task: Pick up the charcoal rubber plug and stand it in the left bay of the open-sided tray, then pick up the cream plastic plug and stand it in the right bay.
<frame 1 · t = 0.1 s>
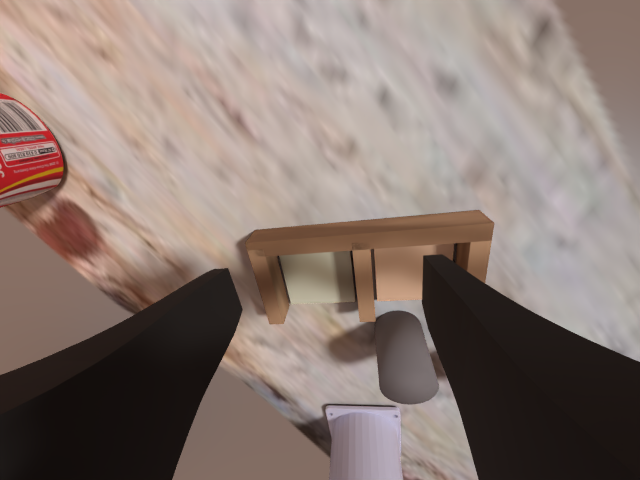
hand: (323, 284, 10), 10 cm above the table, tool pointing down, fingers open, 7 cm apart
charcoal plug: (397, 328, 23), on the table
soda can: (31, 143, 20), on the table
open-sided tray: (363, 268, 21), on the table
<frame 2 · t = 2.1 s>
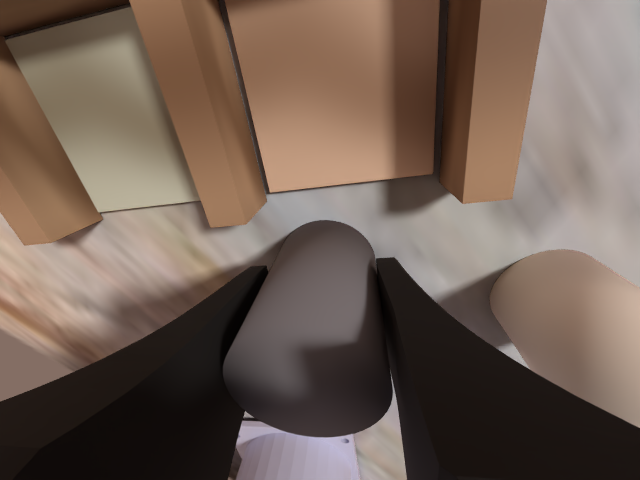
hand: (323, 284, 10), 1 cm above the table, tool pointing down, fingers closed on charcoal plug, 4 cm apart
charcoal plug: (326, 264, 11), on the table, touching gripper
cream plug: (544, 293, 11), on the table
open-sided tray: (224, 101, 9), on the table
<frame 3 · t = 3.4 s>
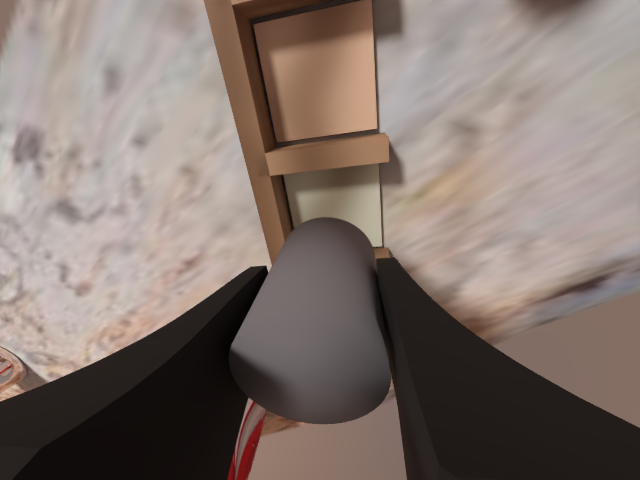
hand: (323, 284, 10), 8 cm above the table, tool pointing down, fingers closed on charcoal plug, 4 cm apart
charcoal plug: (327, 260, 11), point 7 cm above the table, touching gripper
soda can: (238, 393, 28), on the table
open-sided tray: (324, 151, 16), on the table
beer glass: (3, 359, 31), on the table
when the fingers open (3 cm above the table, at t = 4.8 s): charcoal plug drops 1 cm, resting on open-sided tray.
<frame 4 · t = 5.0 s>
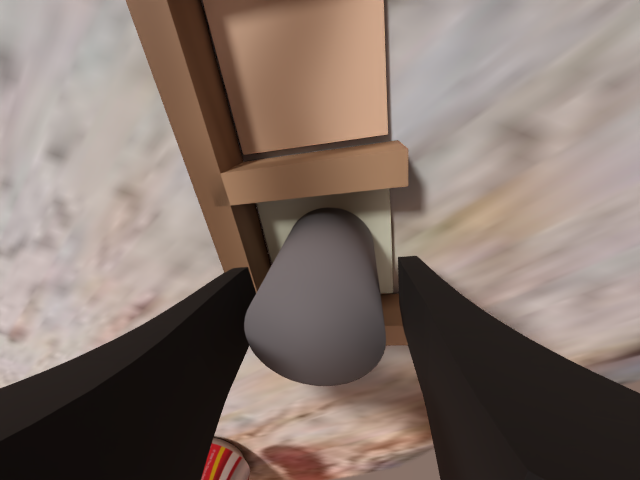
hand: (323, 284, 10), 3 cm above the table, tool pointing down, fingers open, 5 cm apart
charcoal plug: (330, 248, 12), resting on open-sided tray
soda can: (217, 449, 24), on the table
open-sided tray: (312, 167, 11), on the table
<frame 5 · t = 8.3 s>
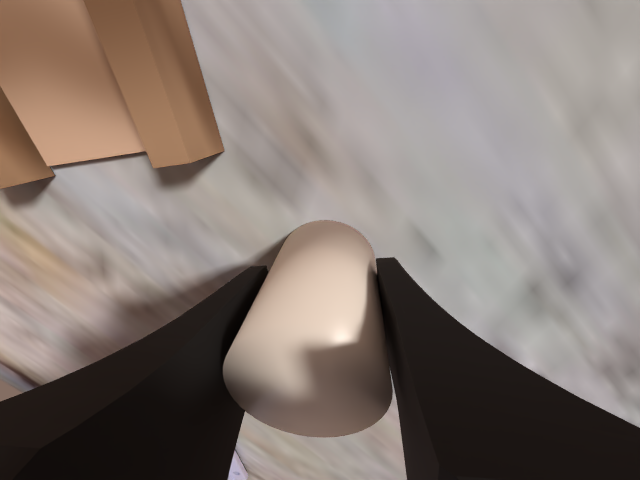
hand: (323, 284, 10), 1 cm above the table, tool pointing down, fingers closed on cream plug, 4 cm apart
cream plug: (326, 264, 11), on the table, touching gripper
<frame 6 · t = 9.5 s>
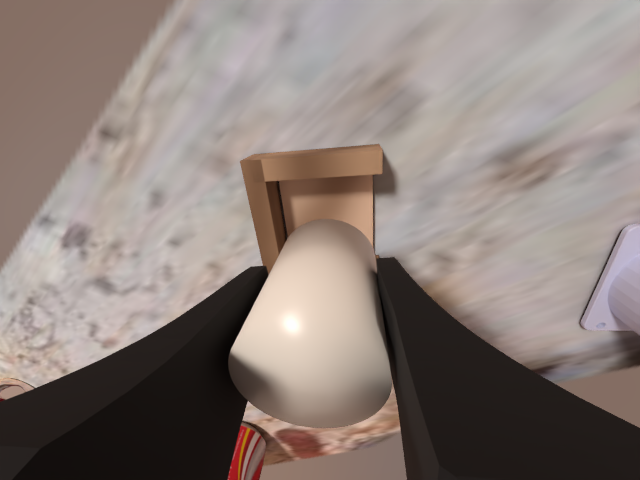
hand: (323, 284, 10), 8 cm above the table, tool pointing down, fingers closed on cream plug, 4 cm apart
soda can: (241, 431, 32), on the table
cream plug: (328, 262, 11), point 7 cm above the table, touching gripper
open-sided tray: (329, 263, 19), on the table
beer glass: (24, 391, 34), on the table
when the fingers open (3 cm above the table, at t = 11.0 s): cream plug drops 1 cm, resting on open-sided tray.
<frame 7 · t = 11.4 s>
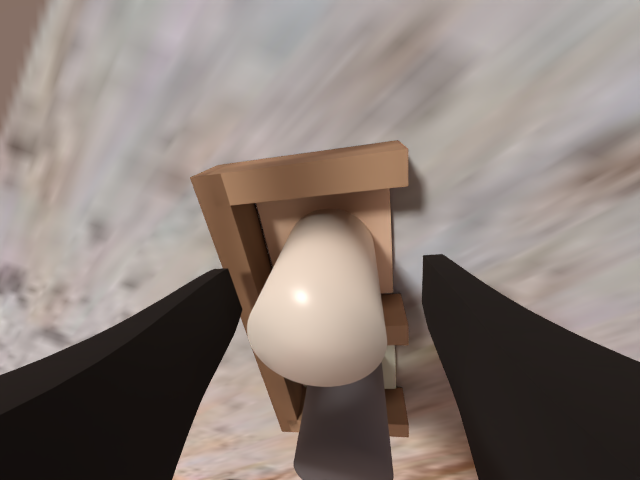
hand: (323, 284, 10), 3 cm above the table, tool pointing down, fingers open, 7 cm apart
charcoal plug: (346, 358, 16), resting on open-sided tray
cream plug: (330, 248, 12), resting on open-sided tray
open-sided tray: (333, 305, 14), on the table
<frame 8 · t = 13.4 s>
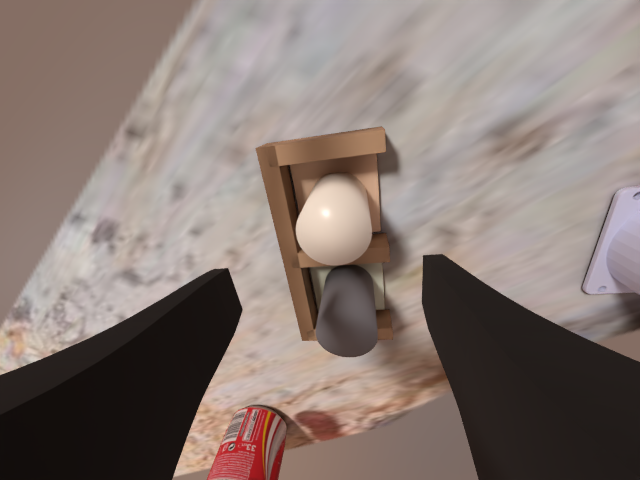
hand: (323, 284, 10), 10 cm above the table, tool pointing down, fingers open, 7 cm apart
charcoal plug: (348, 284, 22), resting on open-sided tray
soda can: (262, 415, 33), on the table
cream plug: (338, 199, 19), resting on open-sided tray
open-sided tray: (340, 243, 21), on the table
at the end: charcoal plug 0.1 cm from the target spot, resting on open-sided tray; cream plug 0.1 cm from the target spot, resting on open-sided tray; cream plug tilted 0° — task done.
